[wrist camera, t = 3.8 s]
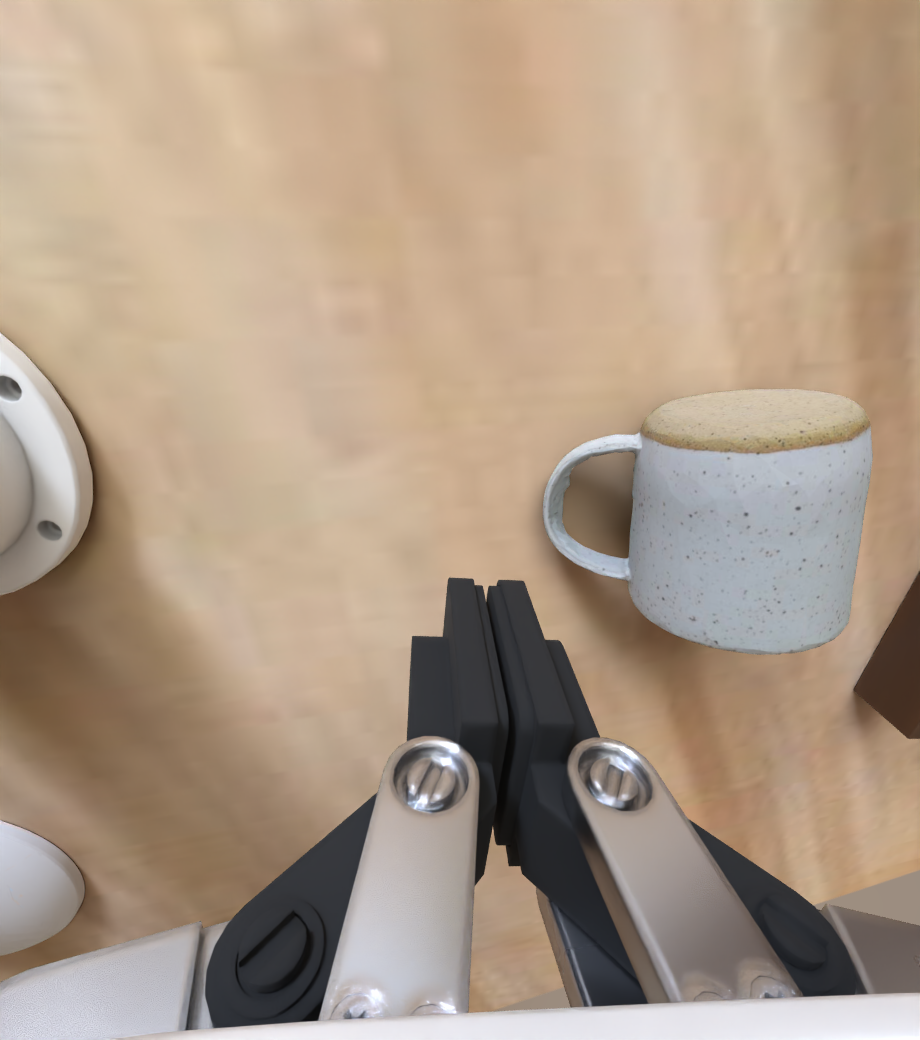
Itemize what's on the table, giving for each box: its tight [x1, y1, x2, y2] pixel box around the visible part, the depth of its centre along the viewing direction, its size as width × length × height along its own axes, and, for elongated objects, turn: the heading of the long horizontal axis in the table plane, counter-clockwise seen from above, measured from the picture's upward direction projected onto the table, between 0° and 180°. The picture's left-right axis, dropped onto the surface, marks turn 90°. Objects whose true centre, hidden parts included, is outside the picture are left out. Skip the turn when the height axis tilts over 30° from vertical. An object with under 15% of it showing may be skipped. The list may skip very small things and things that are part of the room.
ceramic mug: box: [543, 389, 873, 655], centre depth 18 cm, size 11×8×8 cm
